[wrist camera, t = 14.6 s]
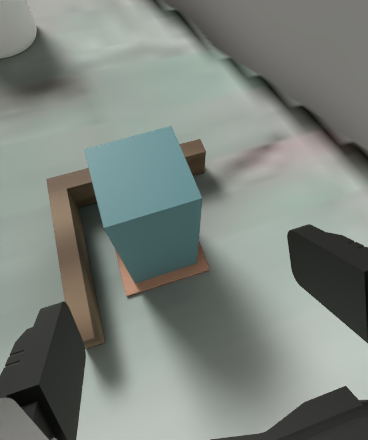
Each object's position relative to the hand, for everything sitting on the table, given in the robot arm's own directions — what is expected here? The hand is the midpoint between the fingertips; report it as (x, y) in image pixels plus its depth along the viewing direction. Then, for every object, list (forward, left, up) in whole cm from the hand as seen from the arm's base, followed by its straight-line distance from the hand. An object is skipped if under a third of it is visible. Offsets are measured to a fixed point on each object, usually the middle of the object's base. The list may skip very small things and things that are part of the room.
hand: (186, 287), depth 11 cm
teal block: (-7, +2, -13) cm, 15 cm away
